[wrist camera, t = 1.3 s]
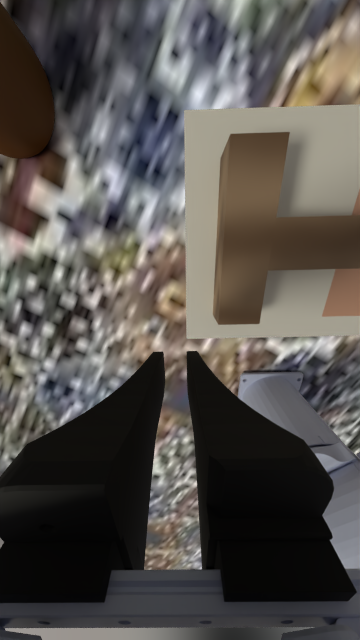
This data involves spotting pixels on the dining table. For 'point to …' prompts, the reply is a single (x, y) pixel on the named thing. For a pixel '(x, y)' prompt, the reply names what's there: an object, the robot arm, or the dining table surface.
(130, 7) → the dining table surface
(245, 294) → the t block
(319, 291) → the mat
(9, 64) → the mug
